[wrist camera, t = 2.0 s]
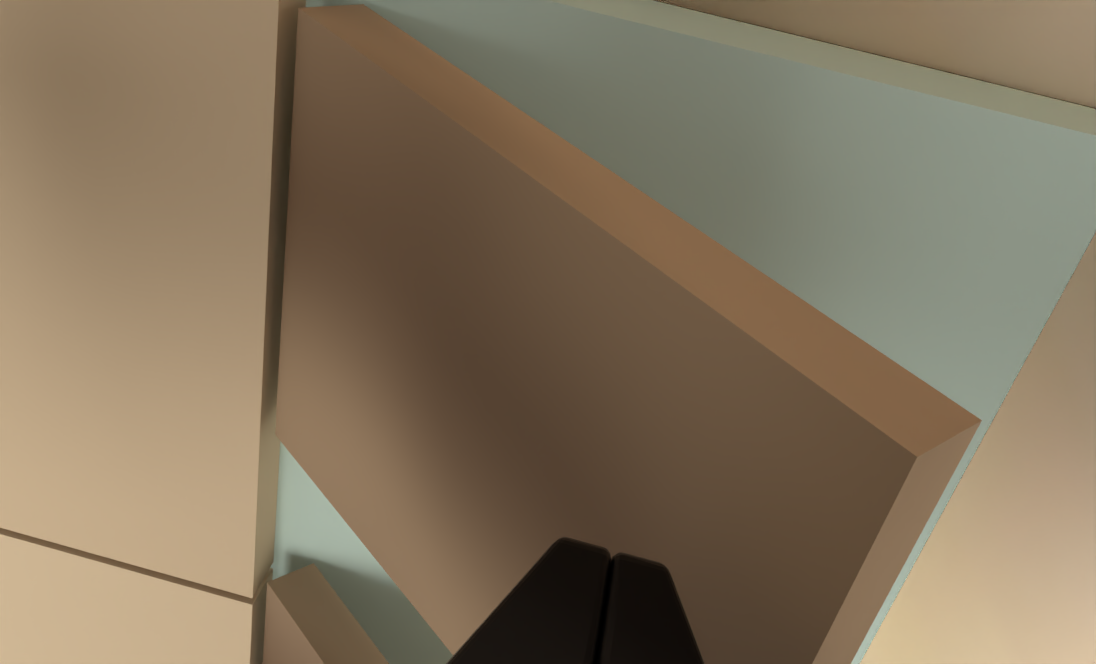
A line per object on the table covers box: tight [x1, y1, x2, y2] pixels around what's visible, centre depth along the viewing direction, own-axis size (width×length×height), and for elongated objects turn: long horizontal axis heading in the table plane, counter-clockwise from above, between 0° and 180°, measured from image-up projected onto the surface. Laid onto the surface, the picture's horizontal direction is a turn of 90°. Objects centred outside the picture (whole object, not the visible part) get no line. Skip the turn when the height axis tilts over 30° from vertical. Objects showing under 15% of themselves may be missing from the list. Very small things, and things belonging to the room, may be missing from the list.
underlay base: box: [0, 0, 1096, 664], centre depth 16 cm, size 16×14×2 cm
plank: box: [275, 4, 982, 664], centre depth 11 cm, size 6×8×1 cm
